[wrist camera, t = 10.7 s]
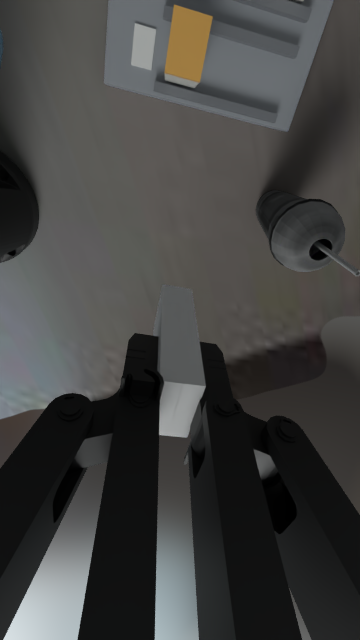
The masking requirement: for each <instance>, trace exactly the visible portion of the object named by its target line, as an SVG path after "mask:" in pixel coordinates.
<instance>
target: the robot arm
mask: <svg viewBox="0 0 360 640" xmlns="http://www.w3.org/2000/svg"><path fill="white" fill-rule="evenodd" d="M2 54H3V37H2V32H1V29H0V67H1V61H2ZM38 220H39V214H38V206H37V202H36V198H35V196H34V193H33V191H32V188H31V186H30V184H29V183H28V181H27V179H26V178H25V176H24V175H23V173H22V172H21V171H20V169H19V168H18V167H17V166H16V165H15V164H14V163H13V162H12V161H11V160H10V159H9V158H8V157H7V156H6V155H4V154H3V153H2V152H1V151H0V263H1V262H5V261H8V260H10V259H12V258H14V257H16V256H17V255H19V254H20V253H21V252H22V251H23V250H24V249H25V248H26V247H27V246H28V245H29V244H30V243H31V242H32V240H33V238H34V237H35V234H36V231H37V228H38ZM224 362H225V361H224V357H223V353H222V351H221V350H220V349H219V347H218V346H217V345H216V344H211V343H204V342H199V335H198V328H197V321H196V314H195V307H194V300H193V293H192V289H188V288H182V287H176V286H170V285H165V284H162V289H161V294H160V299H159V304H158V309H157V314H156V319H155V324H154V331H153V336H151V335H144V334H137V333H135V334H134V335H133V336H132V337H131V338H130V339H129V342H128V348H127V354H126V360H125V365H124V371H123V376H122V378H121V385H120V389H119V390H118V391H117V393H115V394H114V395H113V396H111V397H109V398H107V399H103V400H99V401H92V402H91V401H90V400H89V399H88V398H87V397H85V396H83V395H81V394H75V393H70V394H64V395H61V396H59V397H57V398H55V399H54V400H53V401H52V402H51V403H50V404H49V405H48V406H47V408H46V409H45V410H44V412H43V413H42V414H41V416H40V417H39V418H38V419H37V421H36V422H35V423H34V425H33V426H32V427H31V429H30V430H29V432H28V433H27V434H26V435H25V437H24V438H23V439H22V441H21V442H20V443H19V445H18V446H17V447H16V449H15V450H14V451H13V453H12V454H11V455H10V457H9V458H8V459H7V461H6V462H5V463H4V465H3V466H2V467H1V468H0V640H3V639H4V637H5V635H6V633H7V630H8V628H9V627H10V624H11V622H12V620H13V618H14V616H15V614H16V612H17V610H18V608H19V606H20V604H21V602H22V600H23V598H24V596H25V594H26V592H27V590H28V588H29V586H30V584H31V582H32V580H33V578H34V576H35V574H36V572H37V570H38V568H39V566H40V563H41V561H42V559H43V557H44V555H45V553H46V551H47V549H48V547H49V545H50V543H51V541H52V539H53V537H54V535H55V533H56V531H57V529H58V527H59V525H60V523H61V521H62V519H63V517H64V515H65V513H66V511H67V508H68V507H69V505H70V503H71V500H72V498H73V496H74V494H75V492H76V490H77V488H78V486H79V484H80V482H81V480H82V478H83V476H84V474H85V472H86V470H87V468H88V467H89V466H93V465H97V464H101V463H106V462H108V463H107V470H106V475H105V482H104V487H103V493H102V499H101V505H100V511H99V517H98V522H97V528H96V534H95V540H94V546H93V552H92V558H91V564H90V570H89V576H88V582H87V587H86V593H85V599H84V605H83V612H82V617H81V623H80V629H79V635H78V640H154V639H155V637H154V636H155V594H156V550H157V546H156V545H157V505H158V461H159V460H158V459H159V435H167V436H176V437H186V438H187V436H188V434H189V431H191V442H190V445H189V447H188V450H187V452H186V455H185V458H184V463H183V464H187V461H188V460H189V477H190V494H191V510H192V527H193V544H194V561H195V579H196V596H197V612H198V628H199V640H302V638H301V634H300V630H299V626H298V622H297V618H296V614H295V610H294V606H293V602H292V599H291V594H290V591H289V588H290V590H291V592H292V595H293V597H294V599H295V602H296V604H297V606H298V609H299V611H300V613H301V616H302V618H303V620H304V623H305V625H306V627H307V629H308V632H309V634H310V637H311V639H312V640H360V515H359V513H358V512H357V510H356V509H355V507H354V506H353V504H352V503H351V501H350V500H349V498H348V497H347V495H346V494H345V492H344V491H343V489H342V488H341V486H340V485H339V483H338V482H337V481H336V479H335V478H334V476H333V474H332V473H331V472H330V470H329V469H328V467H327V466H326V464H325V463H324V461H323V460H322V458H321V457H320V455H319V454H318V452H317V451H316V449H315V448H314V446H313V445H312V443H311V442H310V440H309V439H308V437H307V436H306V434H305V433H304V431H303V430H302V429H301V428H300V427H299V425H298V424H297V423H295V422H294V421H292V420H291V419H289V418H286V417H284V416H274V417H271V418H270V419H269V420H268V421H267V422H266V421H263V420H260V419H258V418H255V417H253V416H251V415H249V414H247V413H245V412H244V411H243V409H242V407H241V405H240V404H239V402H238V401H237V400H236V399H234V398H233V395H232V391H231V387H230V382H229V378H228V374H227V370H226V365H225V363H224ZM288 585H289V587H288Z"/></svg>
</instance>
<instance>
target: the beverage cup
mask: <svg viewBox="0 0 360 640" xmlns="http://www.w3.org/2000/svg"><path fill="white" fill-rule="evenodd" d="M256 216H257V218H258V221H259V223H260V225H261V227H262V228H263V230H264V232H265V234H266V236H267V238H268V240H269V245H270V250H271V252H272V255H273V257H274V258H275V259H276V260H277V261H278V262H279V263H280V264H282V265H284V266H285V267H287V268H290V269H292V270H295V271H300V272H310V271H314V270H318V269H321V268H323V267H325V266H327V265H328V264H329V263H331V262H332V261H333V260H335V261H336V262H338V263H339V264H340V265H342V266H343V267H344V268H346V269H347V270H349V271H350V272H351V273H353V274H354V275H355V276H359V275H360V270H358V269H357V268H355V267H354V266H353V265H351V264H350V263H348V262H347V261H345V260H344V259H343V258H341V257H340V256H338V254H339V252H340V251H341V249H342V246H343V244H344V241H345V227H344V224H343V221H342V218H341V216H340V215H339V214H338V212H337V211H336V209H335V208H334V207H333V206H332V205H331V204H330V203H327V202H325V201H323V200H321V199H304V198H301V197H298V196H295V195H292V194H289V193H286V192H283V191H277V190H273V191H269V192H267V193H266V194H264V195H263V196H262V197H261V198H260V199H259V201H258V203H257V206H256Z"/></svg>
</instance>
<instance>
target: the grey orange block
mask: <svg viewBox="0 0 360 640" xmlns="http://www.w3.org/2000/svg"><path fill="white" fill-rule="evenodd" d="M212 18H213V16H210V15H207V14H203V13H200V12H197V11H194V10H190V9H187V8H184V7H181V6H178V5H174V8H173V15H172V22H171V30H170V37H169V44H168V51H167V58H166V65H165V72H164V73H165V81H168V82H172V83H176V84H179V85H183V86H187V87H190V88H195V87H196V86H197V85H198V84H199V83H200V79H201V74H202V69H203V64H204V59H205V54H206V49H207V44H208V39H209V33H210V28H211V23H212Z"/></svg>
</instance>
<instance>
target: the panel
mask: <svg viewBox="0 0 360 640" xmlns="http://www.w3.org/2000/svg"><path fill="white" fill-rule="evenodd" d="M333 1H334V0H304V1H302V2H301V3H300V4H299V3H296V2H293V1H290V0H109V1H108V19H107V37H106V55H105V73H104V84H106V85H108V86H111V87H114V88H118V89H122V90H126V91H130V92H134V93H137V94H141V95H145V96H149V97H153V98H156V99H160V100H164V101H168V102H172V103H176V104H179V105H183V106H187V107H191V108H195V109H198V110H202V111H206V112H210V113H214V114H218V115H221V116H225V117H229V118H233V119H237V120H240V121H244V122H248V123H252V124H256V125H260V126H263V127H267V128H271V129H275V130H279V131H286V132H288V130H289V128H290V125H291V122H292V119H293V116H294V113H295V110H296V107H297V105H298V102H299V99H300V96H301V93H302V90H303V87H304V84H305V82H306V79H307V76H308V73H309V70H310V67H311V64H312V61H313V59H314V56H315V53H316V50H317V47H318V44H319V41H320V39H321V36H322V33H323V30H324V27H325V24H326V21H327V18H328V16H329V13H330V10H331V7H332V4H333ZM174 5H178V6H181V7H184V8H187V9H190V10H194V11H197V12H200V13H203V14H207V15H210V16H213V18H212V23H211V28H210V33H209V39H208V44H207V49H206V54H205V59H204V64H203V69H202V74H201V79H200V83H199V84H198V85H197V86H196V87H195V88H190V87H187V86H183V85H179V84H176V83H172V82H168V81H165V73H164V72H165V65H166V58H167V51H168V44H169V37H170V30H171V22H172V15H173V8H174Z"/></svg>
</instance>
